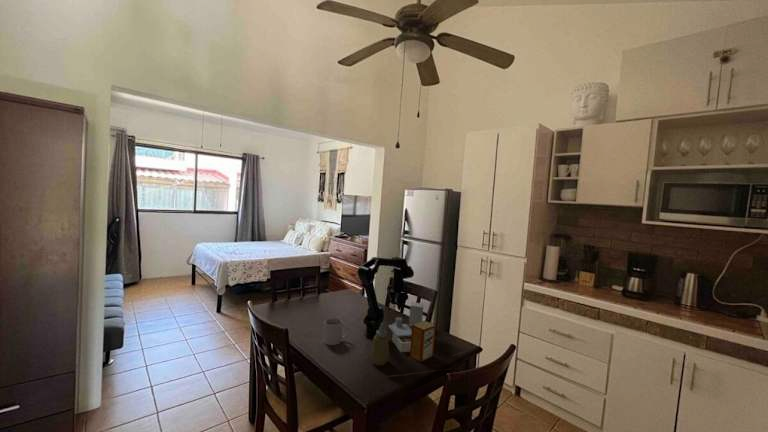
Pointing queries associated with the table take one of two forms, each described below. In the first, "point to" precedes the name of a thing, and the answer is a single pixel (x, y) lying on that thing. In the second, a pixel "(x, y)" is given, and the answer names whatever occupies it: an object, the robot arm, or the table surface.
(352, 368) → the table surface
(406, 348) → the tub
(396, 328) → the lid
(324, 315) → the table surface
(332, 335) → the mug
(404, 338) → the block
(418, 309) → the supplement box
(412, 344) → the baking soda box
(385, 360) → the squeeze bottle
